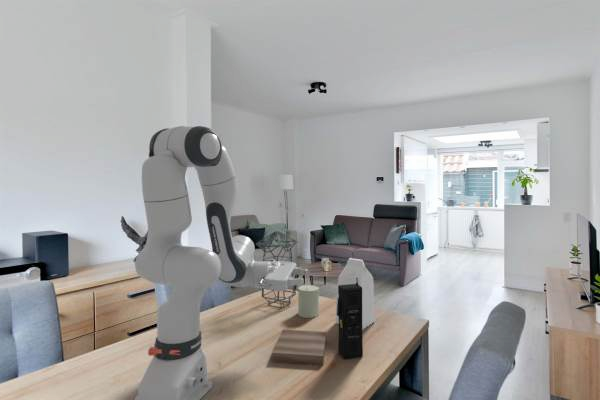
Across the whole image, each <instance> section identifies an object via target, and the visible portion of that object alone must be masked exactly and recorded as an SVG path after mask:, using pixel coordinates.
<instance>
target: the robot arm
mask: <svg viewBox="0 0 600 400" xmlns="http://www.w3.org/2000/svg"><path fill="white" fill-rule="evenodd" d="M148 148H149V149H148V150H149V151H148V158H147V159H146V160H145V161H144V162H143V163H142V167H141V189H142V198H143V204H144V210H145V216H146V222H147V238H146V241H145V244H144V247H143V248H142V249H141V250H140V251H139V253H138V254H137V256H136V259H135V271H136V274H137V275H138V277H140V278H141V279H143V280H145V281H147V282H150V283H153V284H156V285H164V286H170V288H171V292H170V295H169V296H170V297H169V299H167V300H166V301H164V302H162V303H161V305H160V306H159V307H158V308H157V312H156V328H157V329H156V330H157V331H156V338H155V342H154V345H153V346H151V347H149V348H148V351H147V354H148V356H150V357H151V356H152V359H151V361H150V362H149V364H148V366H147V368H146V370H145V373H144V375H143V376H142V378H141V381H140V383H139V386H138V390H137V395H136V397H135V398H134V399H133V400H201V399H202V398H203V397H204V396H205V395H207V393H208V392H209V391H210V390H212V388H213V382H212V381H211V380H209V379H208V378H209V377H208V364H207V356H206V355H205V354H204V352H203V350H202V339H203V338H202V331H200V321H201V320H200V319H201V318H200V315H201V305H202V301H203V299H204V296H205V295H206V292H207V291H208V290H209V289H210V288H211V287H212V286H214V285H215V284H216V282H217V281H219V282H220V284H222V285H225V286H229V287H236V288H246V287H252V288H257V289H262V288H264V290H266V291H273V292H278V291H279V292H283V291H288V290H287V289H288V287H293V286H294V285H295V286H298V285H300V286H303V285H304V278H303V277H297V278H295V276H296V275H302V276H308V273H309V271H308V269H307V268H301V267H297V266H298V265H297V263H296V262H293V261H292V262H291V261H284V260H278V261H276V259H274V258H273V259H272V258H269V259H267V260H268V261H263V260H262V261H259V260H258V261H257V260H255V251H256V246H255V245H256V244H255V243H254V241H253V240H252V239H251V238H250V237H249V236H246V235H243V234H237V235H234V236H233V235H232V230H231V221H232V220H231V219H232V215H233V212H234V209H235V206H236V204H237V201H238V198H239V194H240V192H239V181H238V178H237V175H236V170H235V167H234V165H233V161H232V159H231V157H230V155H229V152H228V150H227V149H226V147H225V146H224V145H223V144H222V141H221V139H220V136H218V134H217V133H216V131H214V130H213V129H212V128H210V127H208V126H207V127H206V126H202V125H197V126H184V125H180V126H175V127H171V128H169V127H167V128H163V129H161V130H158V131H156V132H155V133H154V134H153V135H152V137H151V138H150V142H149V145H148ZM188 168H194V169H195V171H196V173H197V176H198V177H197V178H198V181H199V184H200V185H199V186H200V187H201V188H200V189H201V192H202V195H203V196H202V197H203V200H204V201H203V202H204V206H205V216H206V224H207V229H208V233H209V237H210V242H211V243H210V244H211V247H212V250H210V249H209V250H208V249H205V248H203V247H200V246H199V247H198V246H187V245H182V235H183V233H184V232H185V231H186V230H187V229H188V228H189V227H190V226H191V224H192V221H193V216H192V211H191V204H190V203H191V202H190V198H189V190H188V186H187V181H186V173H187V170H188ZM293 277H294V279H293Z"/></svg>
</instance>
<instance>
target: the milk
mask: <svg viewBox="0 0 600 400" xmlns="http://www.w3.org/2000/svg"><path fill="white" fill-rule="evenodd" d="M357 279H358V285H359V286H361V287H362V331H364V330H365V329H367V328H368V327H370V326H371V325H372V323H373V322H374V321H375V322H376V305H375V285H374V276H373V274H372V273H371V272H370V271H369V270H368V268H367V267H366V264H365V263H364V260H363V259H359V258H354V257H353V258H352V257H350V258H348V260H347V262H346V264H345V266H344V268H343V269H342V271H341V272H340V274H339V276H338V278H337V287H336V289H337V291H336V302H335V303H336V305H335V306H336V308H335V324H338V325H339V316H338V315H337V302H338V298H339V295H338V285H348V284H356V283H357ZM375 322H374V323H375ZM374 323H373V324H374ZM370 324H371V325H370ZM369 325H370V326H369ZM367 326H368V327H367ZM366 327H367V328H366ZM364 328H365V329H364Z"/></svg>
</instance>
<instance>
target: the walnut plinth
mask: <svg viewBox="0 0 600 400" xmlns="http://www.w3.org/2000/svg"><path fill="white" fill-rule="evenodd" d="M326 345H327V331H315V330H314V331H313V330H297V329H282V330H281V332H280V335H279V337H278V339H277V342H276V344H275V346H274V349H273V351H272V363H280V364H296V365H298V364H301V365H313V366H324V362H325V353H326Z"/></svg>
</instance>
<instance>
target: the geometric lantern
mask: <svg viewBox="0 0 600 400" xmlns="http://www.w3.org/2000/svg"><path fill="white" fill-rule="evenodd" d="M279 238H280V239H279ZM288 239H289V240H288ZM263 241H264V242H263ZM273 241H275V242H276V243H277V245H276V244H275V245H272V243H273ZM281 243H282V244H281ZM297 243H299V241H298V240H296V239H294V238H293V237H291V236H289V235H287V234H285V233H283V232H281V231H279V230H275V231H273V232H271V233H270V234H269V235H267V236H265V237H264V238H262V239H260V240H259V241H257V242H256V243H255V245H256V246H257V247H258V248H259V249H261V250H262V252H263V259H262V261H268V260H270V259H272V258H273V259H275V260H276V261H279V258H281V259H280V261H286V262H288V261H290V262H293V254H292V248H293V247H295V245H296V244H297ZM273 247H274V248H273ZM279 247H281V249H280V251H279V252H278V255H274V253H273V251H274V250H276V249H277V248H279ZM271 248H272V249H271ZM283 250H284V253H283V255H281V253H282V251H283ZM267 253H271V254H272V256H270V257H265V256H266V255H267ZM286 253H289V256H286V255H285V254H286ZM280 255H281V256H280ZM285 256H286V258H288V259H285V260H282V259H284V258H285ZM293 279H295V276H294V277H293ZM271 293H273V294H274V297H268V296H266V295H268V294H271ZM285 293H291V295H289V296H287V297H286V296H285V295H286V294H285ZM282 294H283V296H280V291H277V296H276V291H272V290H269V291H268V292H267V293H265V288H261V298H263V299H265V300H266V301H267V303H268V304H267V305H268V306H270V307H273V308H279V309H283V308H286V307H287V306H289V305H291V304H292V303H291V299H293V298H294V297H295V296H296V294H297V291H296V285H294V286H292V291H291V290H286V291H282ZM272 300H273V301H272ZM285 303H288V304H285ZM271 304H280V306H278V305H271ZM284 304H285V305H284Z"/></svg>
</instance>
